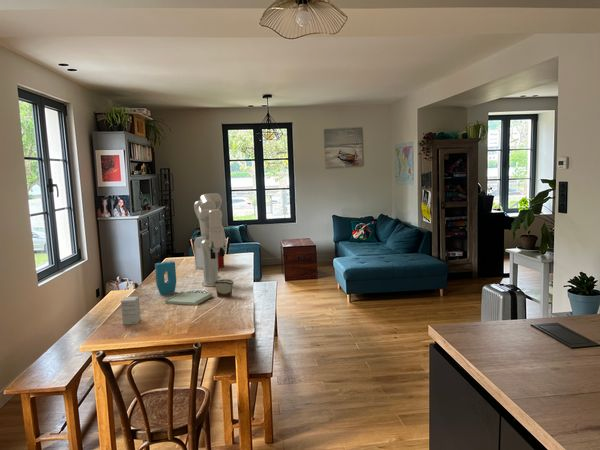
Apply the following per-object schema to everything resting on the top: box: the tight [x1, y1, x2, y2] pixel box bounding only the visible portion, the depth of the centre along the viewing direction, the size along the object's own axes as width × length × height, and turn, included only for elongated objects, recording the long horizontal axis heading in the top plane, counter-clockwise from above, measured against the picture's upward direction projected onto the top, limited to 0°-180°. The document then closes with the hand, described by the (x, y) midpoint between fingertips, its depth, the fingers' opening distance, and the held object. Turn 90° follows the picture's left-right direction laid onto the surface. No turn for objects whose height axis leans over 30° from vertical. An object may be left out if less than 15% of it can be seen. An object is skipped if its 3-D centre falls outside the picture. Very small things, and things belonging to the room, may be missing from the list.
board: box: [164, 291, 213, 306], centre depth 268 cm, size 19×21×2 cm
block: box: [154, 261, 177, 296], centre depth 284 cm, size 12×5×20 cm, turn 123°
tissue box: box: [193, 235, 225, 271], centre depth 360 cm, size 16×18×27 cm
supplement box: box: [120, 295, 141, 325], centre depth 229 cm, size 7×7×13 cm
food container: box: [215, 278, 234, 299], centre depth 273 cm, size 12×6×10 cm, turn 71°
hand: (217, 257), depth 272 cm, fingers open, 9 cm apart
